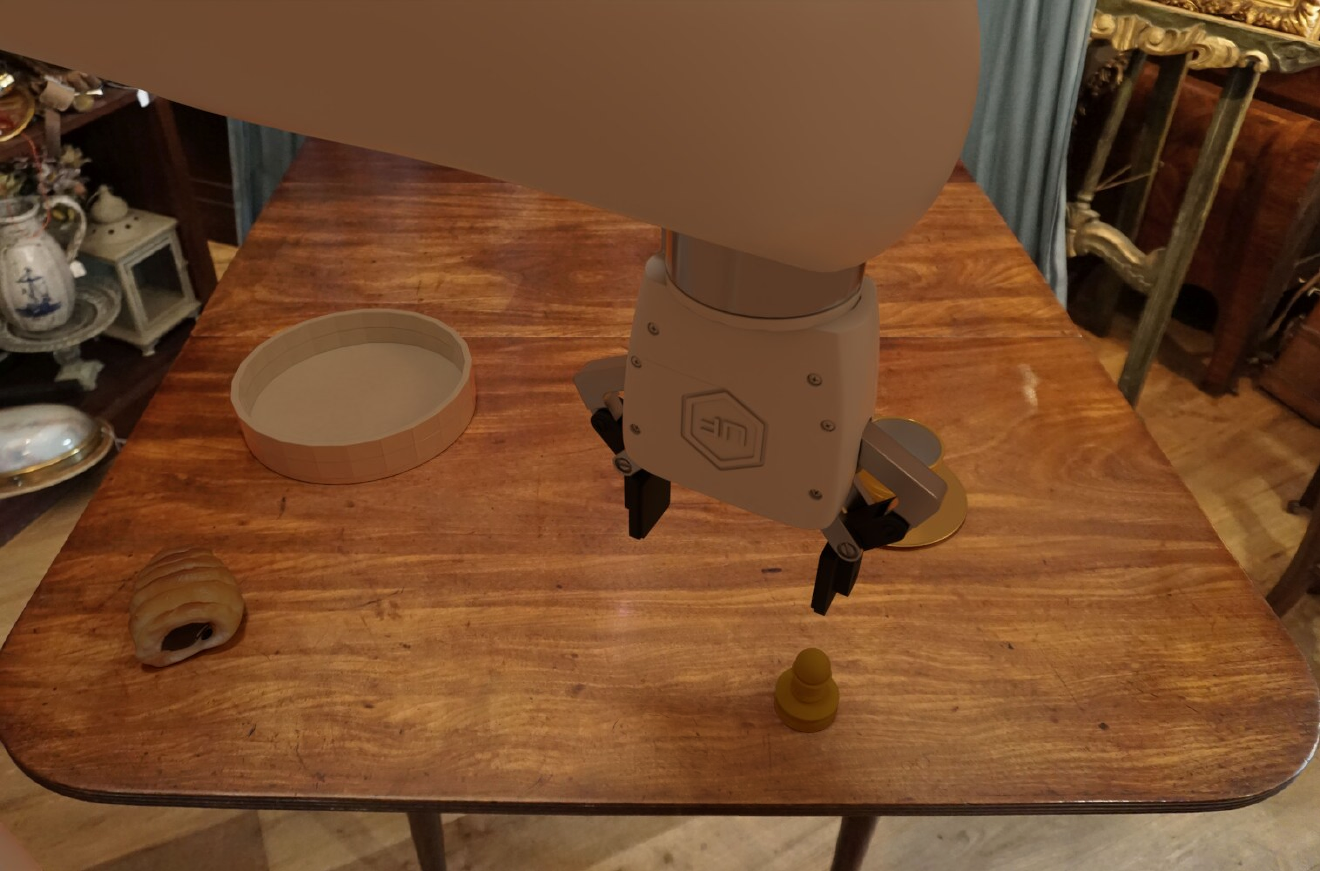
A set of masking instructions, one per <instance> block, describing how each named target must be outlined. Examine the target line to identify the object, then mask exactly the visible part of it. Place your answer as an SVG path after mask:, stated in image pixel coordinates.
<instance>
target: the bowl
mask: <svg viewBox="0 0 1320 871" xmlns="http://www.w3.org/2000/svg"><path fill="white" fill-rule="evenodd" d="M474 371H475V370H474V365H473V359H472V355H471V352H470V348H469V344H468V343H467V342H466V341H465V339H464V338H463V337H462V336H461V334H460V333H459V332H458V331H457V330H456V329H455V328H453V327H451V326H450V325H448V324H447V323H445V322H443V321H441V320H440V319H438V318H436V317H433V316H429V315H426V314H423V313H420V312H417V311H411V310H403V309H395V308H388V307H387V308H356V309H350V310H342V311H336V312H331V313H327V314H324V315H320V316H316V317H314V318H313V317H312V318H310V319H307V320H304V321H301V322H299V323H297V324H294V325H292V326H289V327H288V328H285V329H283V330H281V331H279V332H277V333H275V334H274V335H273V336H271V337H269V338H268V339H266V340H265V341H263V342H262V343H260V344H258V345H257V346H256V347H255V348H254V349H253V350H252V351H251V352H250V353H249V354H248V355H247V356H246V357H245V358H244V359H243V360H242V362H241V363H240V364H239V366H238V368H237V370H236V371H235V374H234V375H233V378H232V380H231V382H230V383H231V384H230V403H231V406H232V409H233V411H234V414H235V417H236V419H237V422H238V426H239V428H240V432H241V433H242V435H243V438H244V440H245V443H246V445H247V447H248V450H250V452H251V454H252V455H253V456H254V457H255V459H257V461H258V462H259V463H260V464H262V465H264V467H266V468H268V469H269V470H271V471H273V472H275V473H277V474H279V475H281V476H284V477H287V478H290V479H293V480H296V481H301V482H306V483H313V484H320V485H348V484H349V485H351V484H359V483H365V482H373V481H377V480H381V479H385V478H389V477H392V476H393V477H394V476H395V475H398V474H402V473H404V472H407V471H409V470H412V469H414V468H417V467H419V466H421V465H423V464H425V463H427V462H428V461H431V460H432V459H434V458H435V457H437V456H438V455H439V454H441V453H443V452H444V451H445V450H447V449H448V448H449V447H451V445H453V444H454V443H455V442H456V441H457V440H458V439H459V438H460V436H462V434H463V433H464V431H465V430H466V429H467V427H468V426H469V424H470V422H471V421H472V419H473V416H474V413H475V410H476V405H477V387H476V378H475V372H474Z"/></svg>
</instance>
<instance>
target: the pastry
mask: <svg viewBox="0 0 1320 871" xmlns="http://www.w3.org/2000/svg"><path fill="white" fill-rule="evenodd" d="M244 610H245V600H244V598H243V596H242V594H241V591H240V588H239V586H238V581H237V578H236V575H235V574H233V573H232V572H231V570H230V568H229V567H228V566H227V565H226V564H224V562H223V561H222V559H221V558H219V557H217V556H215V555H214V553H213V551H212V550H211V549H210V548H208V547H206V546H204V545H203V544H201V543H193V542H192V543H187V544H181V545H177V546H174V547H173V546H166V547H162V548H161V549H160V550H159V551H158V552H157V553H155V554H154V555H153V556H152V557H151V558H150V559H149V560H148V563H147V564H146V565H145V567H144V568H142V569H141V570H140V571H139V572H138V575H137V581H136V582H134V584H133V588H132V597H131V598H130V599H129V602H128V614H129V619H128V622H127V628H128V631H129V632H128V633H129V634H130V638H131V639H132V640H133V645H134V648H135V654H134V657H135V659H136V660H138V662H139V663H141V664H145V665H151V666H153V667H156V668H160V667H166V666H170V665H172V664H175V663H178V662H181V661H183V660H185V659H186V658H189V657H191V656H193V655H195V654H197V653H199V652H201V651H203V650H207V649H212V648H215V647H217V646H221V645H223V644H225V643H227V642H228V641H229V640H230V639H231V638H232V637H233V636H234V635H235V633H236V632H237V630H238V628H239V627H240V625H241V621H242V618H243V616H244Z"/></svg>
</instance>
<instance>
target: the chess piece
mask: <svg viewBox="0 0 1320 871" xmlns="http://www.w3.org/2000/svg"><path fill="white" fill-rule="evenodd" d="M840 700H841V699H840V690H839V687H838V685H837V683H836V681H835V680H834V679H833V671H832V664H831V661H830V658H829V656H828V655H827V654H826V653H825V651H823V650H822V649H819V648H817V647H807V648H805V649H802V650H801V651H800V652H799V653H798V654H797V656H796V657H795V660H794V661H793V663H792V665H791V667H790V668H788V669H786V670H784V671H783V672H782V673H781V674H780V675H779V676H778V678H777V680H776V683H775V687H774V695H773V707H774V711H775V713H776V715H777V717H778V718H779V719H780V721H782V722H783V724H785V725H786V726H788V727H789V728H791V729H793V730H796V731H798V732H805V733H816V732H818V731H822V730H824V729H826V728H827V727H829V726H830V725H831V723H832V722H833V721H834V719H835V717H836V714H837V710H838V706H839V704H840Z"/></svg>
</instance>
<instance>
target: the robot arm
mask: <svg viewBox="0 0 1320 871" xmlns="http://www.w3.org/2000/svg"><path fill="white" fill-rule="evenodd" d="M0 51H4V52H8V53H12V54H15V55H19V56H23V57H27V58H30V59H33V60H37V61H40V62H44V63H48V64H50V65H55V66H58V67H62V68H66V69H68V70H73V71H76V72H79V73H83V74H86V75H89V76H93V77H95V78H99V79H103V80H107V81H110V82H112V83H117V84H120V85H124V86H127V87H131V88H134V89H137V90H139V91H143V92H146V93H148V94H151V95H154V96H157V97H160V98H163V99H165V100H169V101H171V102H175V103H179V104H181V105H185V106H188V107H192V108H194V109H196V110H197V109H198V110H201V111H204V112H208V113H212V114H216V115H219V116H224V117H227V118H230V119H234V120H239V121H241V122H246V123H250V124H254V125H258V126H263V127H268V128H272V129H276V130H279V131H284V132H289V133H292V134H298V135H302V136H307V137H312V138H315V139H321V140H325V141H330V142H334V143H340V144H345V145H349V146H354V147H358V148H362V149H363V148H364V149H368V150H373V151H377V152H382V153H387V154H391V155H396V156H401V157H405V158H410V159H414V160H418V161H422V162H426V163H430V164H433V165H438V166H442V167H448V168H451V169H454V170H455V169H456V170H460V171H464V172H469V173H472V174H476V175H480V176H484V177H487V178H490V179H494V180H498V181H502V182H505V183H509V184H512V185H516V186H519V187H522V188H527V189H531V190H534V191H537V192H541V193H545V194H548V195H551V196H556V197H559V198H563V199H566V200H569V201H573V202H576V203H579V204H582V205H586V206H589V207H592V208H595V209H598V210H602V211H606V212H608V213H612V214H615V215H619V216H622V217H625V218H628V219H632V220H636V221H639V222H641V223H645V224H648V225H651V226H656V227H658V228H661V239H660V242H661V243H660V246H661V247H660V248H661V249H660V250H658V251H657V252H655V253H654V254H653V255H652V256H650V258H649V259H648V260H647V261H646V263H645V266H644V270H643V273H642V277H641V281H640V285H639V289H638V293H637V296H636V297H637V298H636V303H635V307H634V313H633V317H632V323H631V327H630V328H631V329H630V335H629V341H628V348H627V354H623V355H616V356H611V357H605V358H597V359H593V360H589V361H587V362H586V364H584V365H583V366H582V367H581V368H580V369H579V370H578V371H577V372H576V373H575V374H574V375H573V376H572V381H573V383H574V387H575V389H576V390H577V392H578V395H579V396H580V398H581V400H582V403H583V404H584V406H585V408H586V410H587V411H590V413H591V417H590V424H591V426H592V428H593V430H594V431H595V432H596V433H597V434H598V436H599V437H600V439H601V440H602V441H603V442H604V443H605V444H606V445H607V447H608V449H610V450H611V452H612V453H613V454H614V456H613V458H612V466H613V467H614V469H615V470H616V471H617V472H618V473H619V474H621V475H622V476H623V485H624V486H623V493H624V494H623V496H624V497H623V498H624V508H625V509H626V510H628V536H629V537H631V538H632V539H635V540H638V541H640V540H644V539H646V537H647V536H648V535H649V534H650V532H651V531H652V530H653V528H654V527H655V526H656V524H657V523H658V521H660V519H661V518H662V517H663V515H664V514H665V513H666V512H667V510H668V508H669V507H670V505H671V498H672V496H671V493H672V492H671V491H672V483H673V484H675V485H679V486H680V487H684V488H686V489H689V490H692V491H694V492H696V493H699V494H701V495H704V496H707V497H710V498H712V499H714V500H717V501H720V502H722V503H725V504H728V505H729V506H730V505H731V506H732V507H735V508H737V509H738V508H739V509H741V510H744V511H746V512H749V513H752V514H755V515H757V516H760V517H763V518H765V519H768V520H771V521H774V522H776V523H780V524H783V525H786V526H789V527H792V528H796V529H801V530H809V531H810V530H811V531H812V530H813V531H815V530H817V531H818V530H820V532H821V534H822V535H823V536H824V538H825V539H826V541H827V542H826V543H825V545H824V547H823V548H822V550H821V552H820V555H819V558H818V563H817V569H816V574H815V580H814V585H813V590H812V596H811V603H810V608H811V609H813V613H815V614H818V615H820V616H823V617H825V616H826V614H827V612H828V611H829V609H830V607H831V605H832V602H833V601H834V599H835V597H836V595H837V594H839V595H841V596H844V597H847V598H848V597H849V596H850V594H852V591H853V589H854V586H855V584H856V582H857V580H858V578H859V577H858V576H859V573H860V569H861V566H862V560H863V556H864V552H868V551H871V550H874V549H878V548H881V547H885V546H888V545H889V544H892V543H895V542H899V541H901V540H903V539H904V537H905V535H906V533H908V532H909V531H910V530H912V529H913V528H916V527H918V526H919V525H920V524H922V523H923V522H924V521H926V520H927V519H928V518H930V517H931V516H932V515H934V514H935V513H936V512H938V510H939V509H940V507H941V505H942V503H943V500H944V498H945V496H946V494H947V491H948V486H947V483H946V482H945V481H944V480H943V479H942V478H940V477H939V476H938V475H937V474H936V473H934V472H933V471H932V470H931V469H929V468H928V467H927V466H926V465H924V464H923V463H922V462H921V461H920V460H918V459H917V458H916V457H915V456H913V455H912V454H911V453H910V452H908V451H907V450H906V449H905V448H904V447H902V446H901V445H900V444H899V443H897V442H896V441H895V440H894V439H892V438H891V437H890V436H889V435H888V434H886V433H885V432H884V431H883V430H881V429H880V428H879V427H878V426H876V425H875V424H874V417H875V414H876V407H877V397H878V389H879V388H878V386H879V375H880V354H881V350H880V349H881V322H880V320H881V319H880V304H879V291H878V287H877V284H876V282H875V280H874V279H873V278H871V277H870V276H867V275H866V270H867V269H866V268H867V263H868V262H869V261H870V260H872V259H874V258H876V257H878V256H880V255H882V254H883V253H885V252H886V251H887V250H889V249H890V248H891V247H893V246H894V245H896V243H898V242H899V241H901V240H902V239H904V237H905V236H906V235H907V234H908V233H909V232H910V231H911V230H912V229H914V227H916V225H918V223H919V222H920V221H921V220H922V218H923V217H924V216H925V215H926V213H927V212H928V211H929V210H930V208H931V207H932V206H933V204H935V202H936V201H937V198H938V197H939V195H940V194H941V192H942V190H943V189H944V187H946V186H945V185H946V184H947V182H948V180H949V179H950V177H951V175H952V174H953V172H954V169H955V167H956V165H957V163H958V161H959V159H960V156H961V154H962V152H963V149H964V146H965V143H966V140H967V138H968V134H969V131H970V129H971V125H972V121H973V117H974V112H975V107H976V103H977V99H978V92H979V83H980V73H981V30H980V20H979V10H978V2H977V0H0ZM620 392H623V397H621V396H620ZM862 469H864V470H866V471H867V472H868V473H869V474H871V475H872V476H873V477H874V478H875V479H877V480H878V481H879V482H880V483H882V484H883V485H884V486H885V487H887V488H888V489H889V490H890V491H891V492H893V493H894V494H895V495H896V496H895V497H892V498H889V499H886V500H883V501H880V502H877V503H875V502H874V501H873V499H872V497H871V496H870V494H869V493H868V491H867V490H866V488H865V487H864V485H863V483H862V482H861V480H860V479H859V477H858V476H857V474H858V473H859V472H860V471H861V470H862ZM843 507H844V508H845V510H846V511H847V513H844V512H843V510H842V508H843ZM0 871H44V869H43V868H42V867H41V866H40V864H39V863H38V862H37V861H36V860H35V859H34V858H33V857H32V855H31V854H30V853H29V852H28V851H27V849H26V848H25V847H24V846H23V844H22V843H21V842H20V841H19V840H18V839H17V838H16V837H15V835H14V834H13V833H12V832H11V831H10V829H9V828H8V827H7V826H6V825H5V824H4V822H3V821H2V820H1V819H0Z"/></svg>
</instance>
